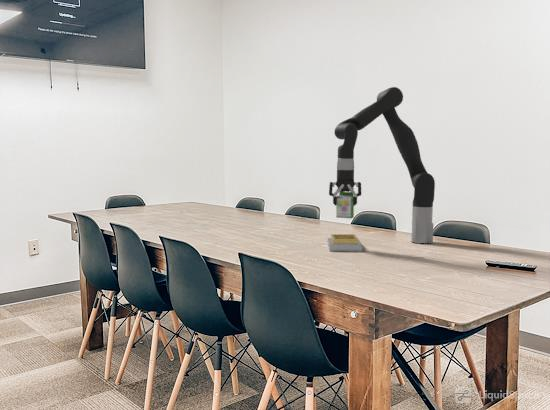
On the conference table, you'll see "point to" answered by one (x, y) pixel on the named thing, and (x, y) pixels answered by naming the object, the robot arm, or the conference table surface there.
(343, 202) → the ink box
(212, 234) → the conference table surface
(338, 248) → the white yellow box
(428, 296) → the conference table surface
